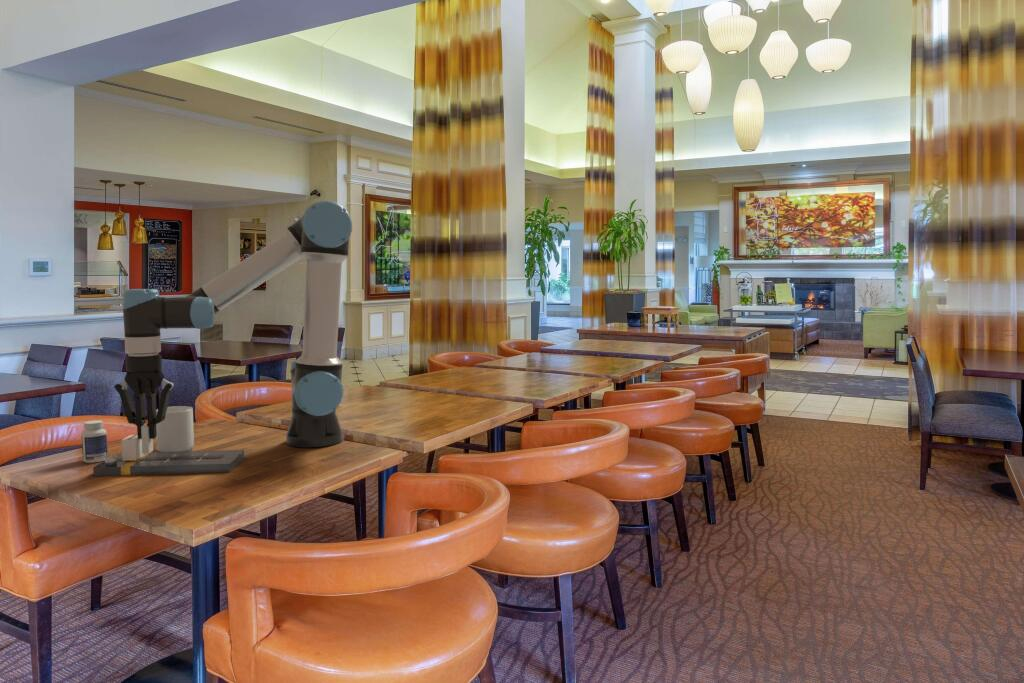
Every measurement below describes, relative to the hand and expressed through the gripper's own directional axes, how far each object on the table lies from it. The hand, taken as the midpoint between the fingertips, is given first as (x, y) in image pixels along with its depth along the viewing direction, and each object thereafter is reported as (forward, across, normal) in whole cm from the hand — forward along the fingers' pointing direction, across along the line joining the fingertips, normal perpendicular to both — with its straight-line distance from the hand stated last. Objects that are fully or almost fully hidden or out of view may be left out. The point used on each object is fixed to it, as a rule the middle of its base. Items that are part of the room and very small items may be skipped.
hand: (147, 451), depth 164 cm
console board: (+4, -6, 0) cm, 7 cm away
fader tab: (+1, +3, 0) cm, 4 cm away
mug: (+4, 0, -17) cm, 17 cm away
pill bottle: (+4, +16, -8) cm, 18 cm away
